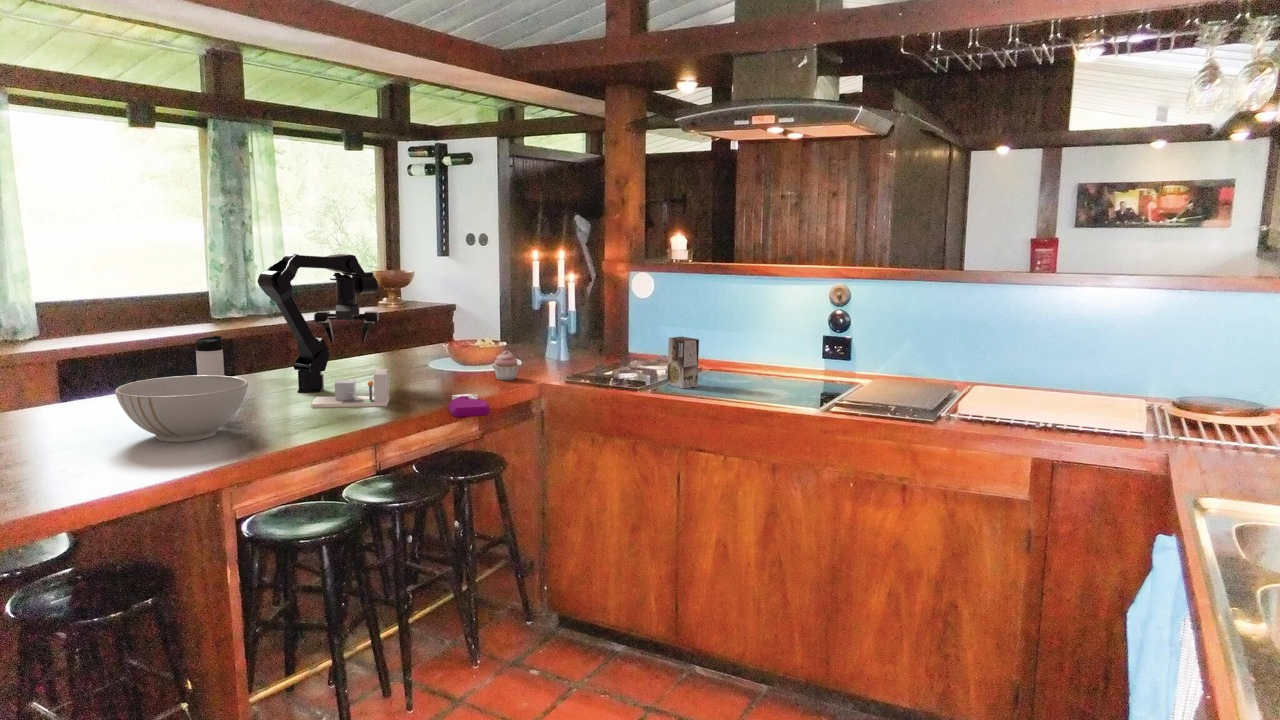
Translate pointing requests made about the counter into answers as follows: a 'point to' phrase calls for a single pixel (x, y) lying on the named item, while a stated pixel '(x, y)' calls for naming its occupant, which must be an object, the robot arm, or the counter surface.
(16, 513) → the counter surface
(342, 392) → the block
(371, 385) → the drag needle
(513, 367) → the cupcake
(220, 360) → the travel mug
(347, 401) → the base
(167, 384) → the decorative bowl
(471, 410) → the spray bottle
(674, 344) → the coffee box
